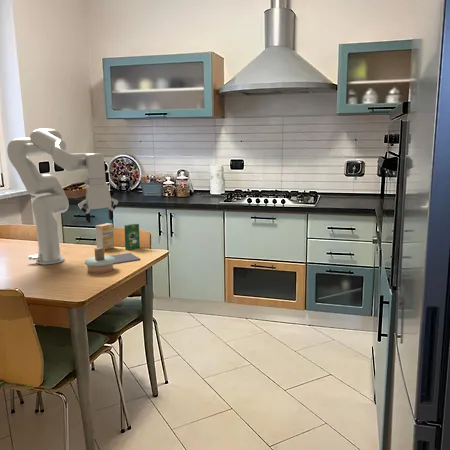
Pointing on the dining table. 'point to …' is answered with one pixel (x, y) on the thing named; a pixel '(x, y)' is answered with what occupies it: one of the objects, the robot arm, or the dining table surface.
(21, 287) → the dining table surface
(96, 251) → the lid
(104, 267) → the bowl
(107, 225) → the supplement box
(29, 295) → the dining table surface
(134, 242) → the coffee box
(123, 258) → the mat
